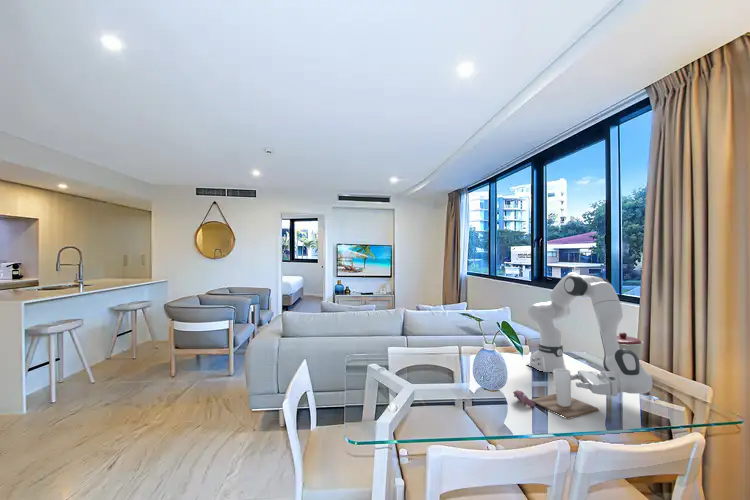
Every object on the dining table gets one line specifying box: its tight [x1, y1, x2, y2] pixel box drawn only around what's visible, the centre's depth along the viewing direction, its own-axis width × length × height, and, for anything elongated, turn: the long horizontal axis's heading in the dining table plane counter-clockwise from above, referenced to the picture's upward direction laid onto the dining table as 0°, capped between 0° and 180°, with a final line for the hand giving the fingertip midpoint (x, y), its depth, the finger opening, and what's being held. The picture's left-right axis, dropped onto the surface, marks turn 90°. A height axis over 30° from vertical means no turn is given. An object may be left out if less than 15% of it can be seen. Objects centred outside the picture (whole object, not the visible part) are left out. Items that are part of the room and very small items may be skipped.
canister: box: [617, 332, 644, 361], centre depth 203 cm, size 18×18×21 cm
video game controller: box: [512, 389, 536, 408], centre depth 164 cm, size 10×5×7 cm, turn 6°
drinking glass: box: [552, 368, 572, 407], centre depth 159 cm, size 7×7×15 cm
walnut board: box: [530, 393, 600, 419], centre depth 160 cm, size 20×18×1 cm
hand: (572, 381), depth 159 cm, fingers open, 8 cm apart
